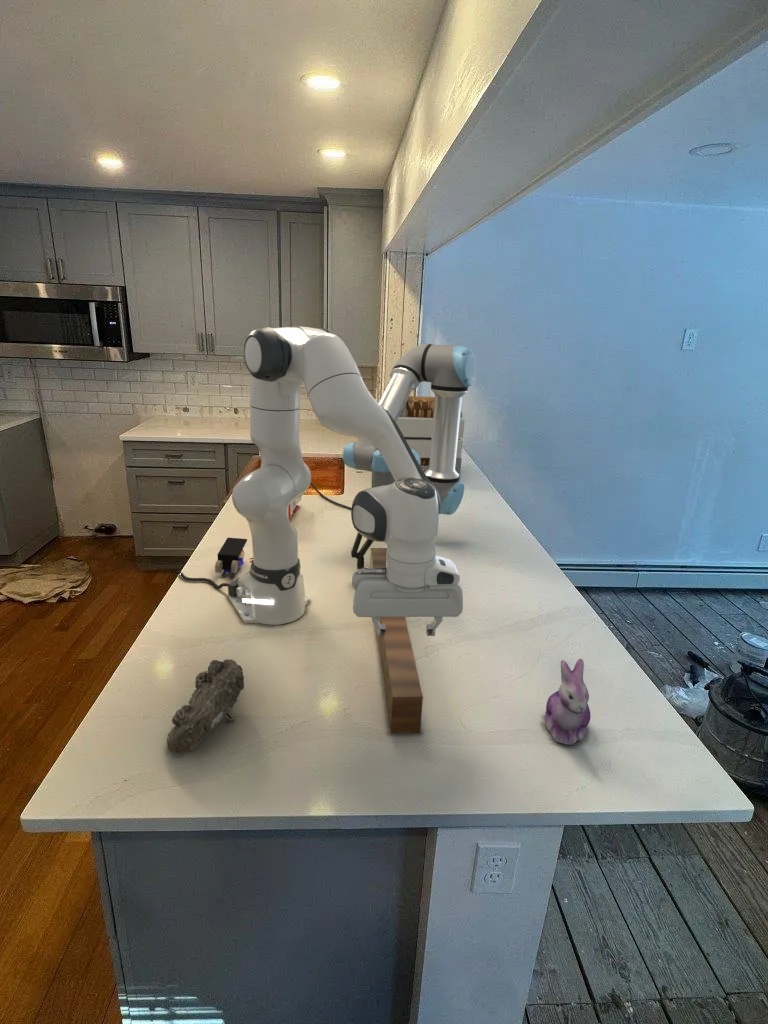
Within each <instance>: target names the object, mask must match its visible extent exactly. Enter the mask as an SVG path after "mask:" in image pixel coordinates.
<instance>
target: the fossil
mask: <svg viewBox="0 0 768 1024" xmlns="http://www.w3.org/2000/svg"><path fill="white" fill-rule="evenodd" d="M243 670H244V669H243V667H242V665H240V664H237V662H236V661H235V660H234V659H232V658H231V659H227V658H226V659H224V660H223V661H222V660H217V659H212V660H211V661H210V663H209V665H208V666H207V671H201V672H199V673H198V674H197V675H196V676H195V680H194V684H195V685H194V687H195V689H194V690H193V693H192V694H191V697H190V698H189V700H188V704H184V705H182V706H181V707H180V709H177V710H176V711H175V713H174V715H173V716H172V718H171V723H172V724H173V727H172V730H171V731H170V732H168V734H167V738H166V741H167V742H166V745H167V749H168V750H169V751H173V752H174V753H176V754H178V753H182V752H188V751H189V752H192V751H193V750H195V748H196V747H197V746H199V744H200V743H201V742H203V741H204V740H205V739H206V738H207V737H208V736H209V735H210V734H211V733H212V732H214V730H215V729H217V727H218V726H219V724H220V722H221V721H222V720H223V719H224V718H225V716H226V717H227V719H229V720H233V717H232V715H230V714H229V710H230V709H231V708H234V706H235V704H236V703H237V702H238V699H239V697H240V695H241V693H242V691H243V690H245V689H244V688H245V675H244V671H243Z"/></svg>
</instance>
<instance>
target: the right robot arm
mask: <svg viewBox="0 0 768 1024" xmlns="http://www.w3.org/2000/svg"><path fill="white" fill-rule="evenodd" d="M389 377H390V380H389V382H388V383H387V385H386V387H385V389H384V391H383V393H382V395H381V397H380V399H379V400H378V403H379V404H380V405H381V406H382V407H383V408H384V409H386V410H387V411H388V412H389V413H390V414H391V416H392V417H393V419H394V420H395V422H396V421H397V419H398V417H399V415H400V413H401V411H402V409H403V407H404V405H405V403H406V401H407V399H408V397H409V396H411V393H412V391H414V390H416V389H417V388H418V387H419V385H420V384H421V383H425V382H426V383H430V390H431V391H432V393H433V394H434V397H435V402H434V414H433V427H432V439H431V451H430V463H429V465H428V468H427V469H426V470H424V471H423V472H424V473H425V475H426V476H427V477H428V479H429V480H430V481H431V482H432V484H433V485H434V486H435V488H436V489H437V491H438V493H439V496H440V500H441V509H440V513H439V515H446V516H451V515H453V514H454V513H456V511H457V510H458V509H459V508H460V505H461V503H462V500H463V497H464V493H465V485H464V482H462V481H461V480H460V481H459V474H458V473H457V472H456V470H455V466H456V455H457V445H458V435H459V424H460V414H461V412H462V403H463V396H464V395H466V394H467V393H468V391H469V387H472V386H474V383H475V382H476V377H477V362H476V356H475V354H474V352H473V350H472V349H471V348H469V347H467V346H461V345H451V344H450V345H449V344H432V343H421V344H418V345H415V346H413V347H412V348H411V349H409V350H408V351H406V352H405V353H404V354H403V355H402V356H401V357H400V358H399V359H398V360H397V361H396V363H395V364H394V365H393V367H392V369H391V371H390V373H389ZM411 450H412V452H413V454H414V456H415V458H416V460H417V461H418V463H419V465H420V464H421V460H420V456H419V455H418V453H417V452H416V451H415V450H413V449H411ZM342 451H343V453H342V461H343V463H344V465H345V466H346V467H348V468H351V469H354V470H358V471H364V472H365V471H366V472H371V483H370V485H371V486H370V488H373V487H378V486H383V485H390V484H393V483H394V482H395V479H394V478H393V476H392V474H391V472H390V470H389V468H388V467H387V465H386V463H385V461H384V459H383V457H382V455H381V454H380V452H379V451H378V450H377V449H376V448H375V447H374V446H373V445H371V444H370V443H368V442H366V441H363V440H361V439H358V440H357V442H355V441H354V442H352V441H351V442H348V444H346V445H345V447H344V448H343V450H342ZM310 486H311V487H312V488H313V490H315V492H316V493H317V494H318V495H320V496H321V497H322V498H323V499H325V500H326V501H328V502H330V503H332V504H334V505H336V506H339V507H342V508H344V509H347V510H349V511H350V510H351V508H352V506H348V505H345V504H342V503H339V502H336V501H335V500H332V499H330V498H328V497H327V496H325V495H324V494H323V493H322V492H320V490H318V488H317V487H316V486H315V485H314V484H313V482H311V483H310ZM362 539H363V536H362V535H361V534H360V533H359V532H358V531H357V534H356V537H355V540H354V542H353V545H352V548H351V551H350V556H351V558H353V559H356V568H357V571H358V570H361V568H365V554H367V552H368V551H369V549H370V548H371V545H373V544H374V542H375V541H373V540H370V539H367V538H366V540H365V541H364V543H363V545H362V546H361V548H360V545H361V542H362ZM359 548H360V549H359Z"/></svg>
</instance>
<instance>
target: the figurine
mask: <svg viewBox="0 0 768 1024" xmlns="http://www.w3.org/2000/svg"><path fill="white" fill-rule="evenodd" d="M584 667H585V662H584V659H583V658H579V659H577V660H576V662H575V665H574V667H573V669H572V670H571V668H570V666H569V664H568V663H567V662H566V661H565V660H564V659H562V660H560V679H561V684H560V685H559V688H558V690H557V691H555V692H553V693H552V694H550V696H549V697H548V699H547V701H546V706H545V713H544V723H545V727H546V729H547V731H548V732H549V733H550V734H551V737H552V738H553V740H554V741H555V742H557V743H560V744H564V745H570V746H571V745H572V746H573V745H575V744H576V743H577V742H580V741H582V740H583V739H584V738H585V736H586V732H587V728H588V725H589V724H590V721H591V716H592V715H591V709H590V706H589V704H588V703H589V700H590V694H589V693H590V692H589V689H588V687H587V684H586V683H585V681H584V670H585V669H584Z"/></svg>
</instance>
